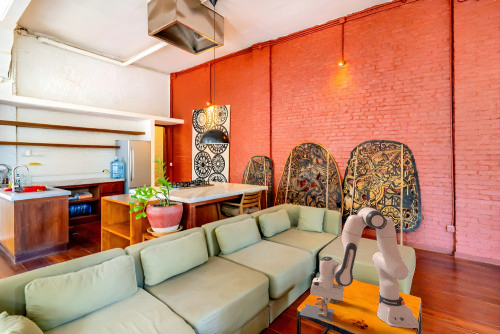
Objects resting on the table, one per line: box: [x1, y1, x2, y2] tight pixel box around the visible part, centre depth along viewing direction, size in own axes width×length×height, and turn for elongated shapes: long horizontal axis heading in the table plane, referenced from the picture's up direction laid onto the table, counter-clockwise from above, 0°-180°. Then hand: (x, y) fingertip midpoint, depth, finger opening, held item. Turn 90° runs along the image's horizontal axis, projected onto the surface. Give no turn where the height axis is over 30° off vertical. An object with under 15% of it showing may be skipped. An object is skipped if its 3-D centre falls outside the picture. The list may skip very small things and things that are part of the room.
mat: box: [299, 303, 335, 323], centre depth 167 cm, size 20×14×1 cm
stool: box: [314, 296, 329, 316], centre depth 166 cm, size 6×8×8 cm
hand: (326, 303), depth 164 cm, fingers closed
